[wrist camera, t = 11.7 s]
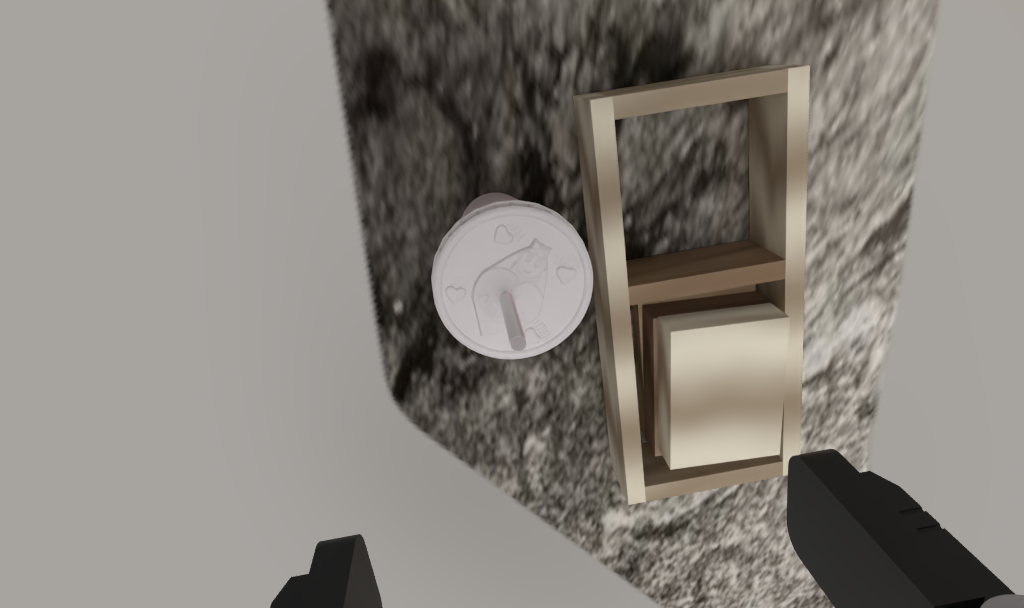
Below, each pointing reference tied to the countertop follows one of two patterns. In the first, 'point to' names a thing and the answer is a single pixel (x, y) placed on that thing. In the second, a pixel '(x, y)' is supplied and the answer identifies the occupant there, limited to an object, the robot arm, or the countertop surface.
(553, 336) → the smoothie
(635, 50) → the countertop surface
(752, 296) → the block
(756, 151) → the offcut rack
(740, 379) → the offcut top
